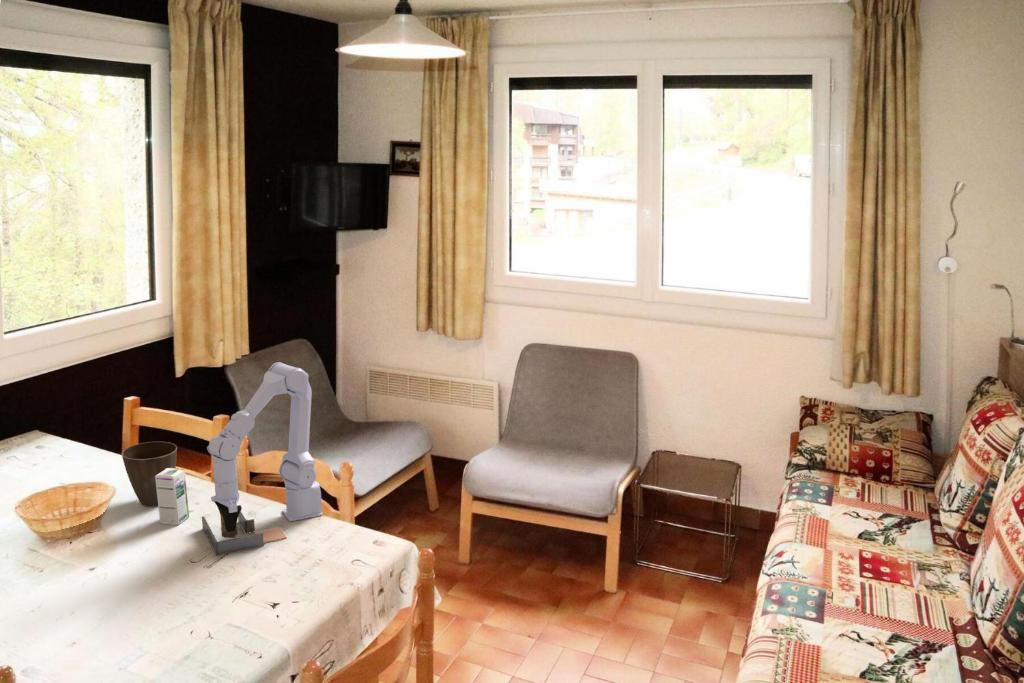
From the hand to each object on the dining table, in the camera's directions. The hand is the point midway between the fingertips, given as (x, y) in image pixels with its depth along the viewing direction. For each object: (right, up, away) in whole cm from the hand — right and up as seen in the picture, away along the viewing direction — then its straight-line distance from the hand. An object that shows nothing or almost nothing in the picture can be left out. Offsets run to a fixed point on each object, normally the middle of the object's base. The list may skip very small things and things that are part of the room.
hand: (229, 527), depth 249 cm
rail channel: (0, -3, +3) cm, 4 cm away
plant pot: (-29, +2, +25) cm, 38 cm away
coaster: (+10, -3, +4) cm, 11 cm away
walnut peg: (0, -2, +1) cm, 2 cm away
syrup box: (-19, -1, +13) cm, 23 cm away
